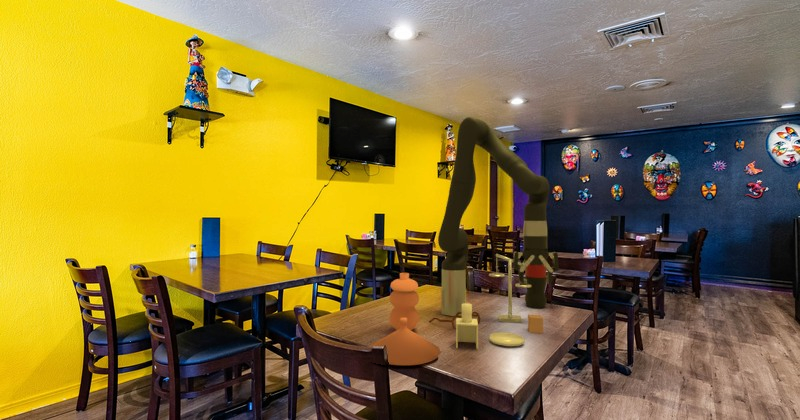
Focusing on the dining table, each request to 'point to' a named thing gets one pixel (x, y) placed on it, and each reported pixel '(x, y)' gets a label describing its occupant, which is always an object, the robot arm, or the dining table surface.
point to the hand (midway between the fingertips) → (535, 283)
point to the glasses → (455, 317)
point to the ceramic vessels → (406, 327)
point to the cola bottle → (535, 286)
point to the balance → (510, 291)
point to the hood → (466, 326)
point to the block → (535, 323)
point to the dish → (506, 339)
